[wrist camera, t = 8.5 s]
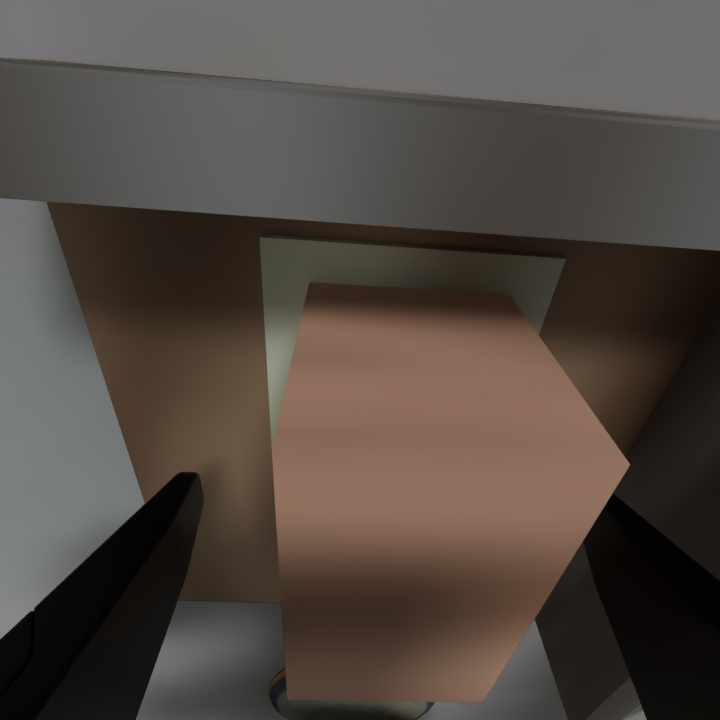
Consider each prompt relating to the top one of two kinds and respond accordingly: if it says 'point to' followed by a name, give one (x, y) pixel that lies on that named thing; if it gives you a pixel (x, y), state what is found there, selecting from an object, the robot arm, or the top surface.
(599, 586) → the robot arm
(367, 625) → the block
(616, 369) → the brown rimmed piece
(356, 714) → the apothecary jar
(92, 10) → the top surface
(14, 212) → the top surface
